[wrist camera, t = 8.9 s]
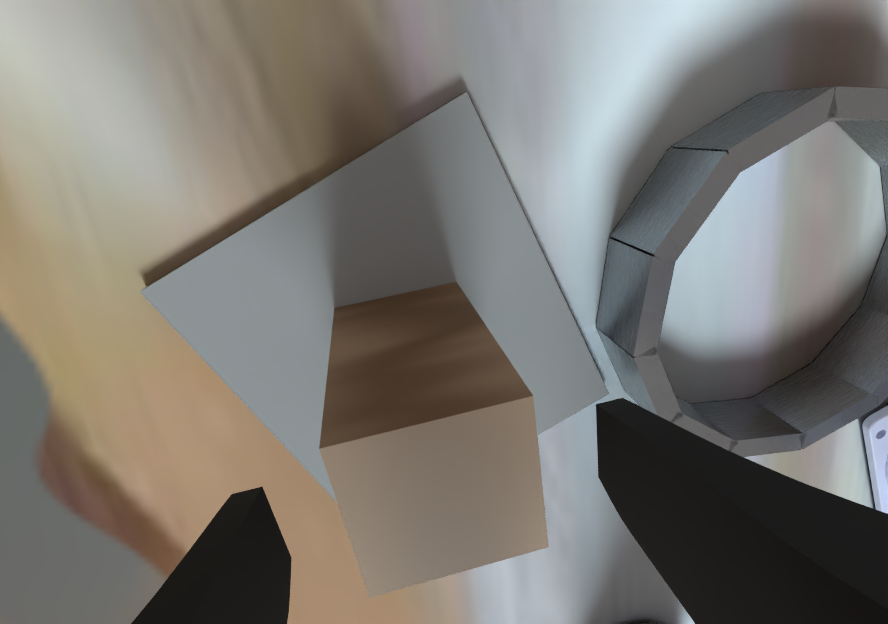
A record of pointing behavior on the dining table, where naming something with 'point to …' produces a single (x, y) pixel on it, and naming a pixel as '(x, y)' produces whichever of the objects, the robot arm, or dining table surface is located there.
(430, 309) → the walnut block
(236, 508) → the robot arm
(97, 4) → the dining table surface
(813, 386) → the steel ring
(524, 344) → the slate mat
